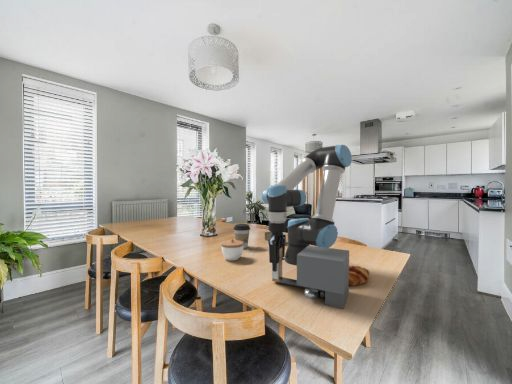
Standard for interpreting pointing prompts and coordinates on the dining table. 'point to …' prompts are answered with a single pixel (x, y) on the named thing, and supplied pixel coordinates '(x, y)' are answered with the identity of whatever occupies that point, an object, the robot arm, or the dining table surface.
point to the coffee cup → (242, 233)
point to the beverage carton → (268, 236)
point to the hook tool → (287, 280)
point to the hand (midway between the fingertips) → (277, 276)
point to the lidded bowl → (232, 249)
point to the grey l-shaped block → (325, 273)
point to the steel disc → (311, 293)
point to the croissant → (358, 275)
